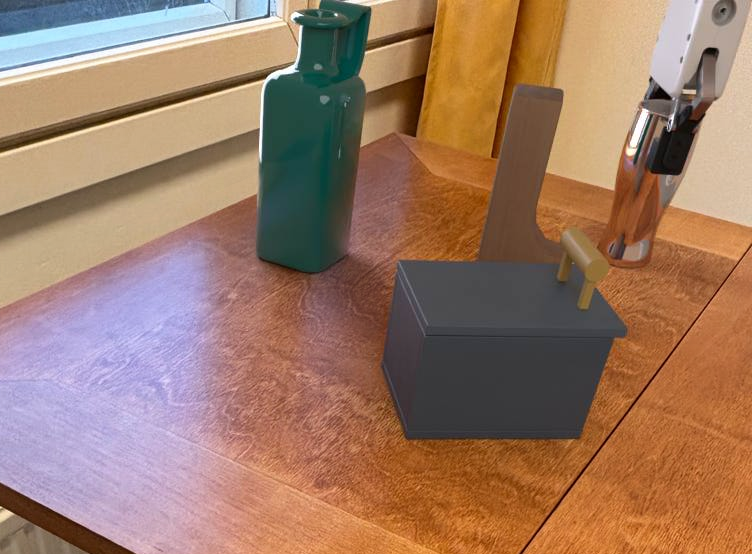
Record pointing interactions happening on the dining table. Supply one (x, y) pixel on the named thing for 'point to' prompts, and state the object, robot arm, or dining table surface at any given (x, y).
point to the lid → (515, 295)
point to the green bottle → (313, 140)
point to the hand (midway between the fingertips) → (654, 159)
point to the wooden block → (522, 180)
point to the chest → (488, 380)
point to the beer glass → (640, 189)
